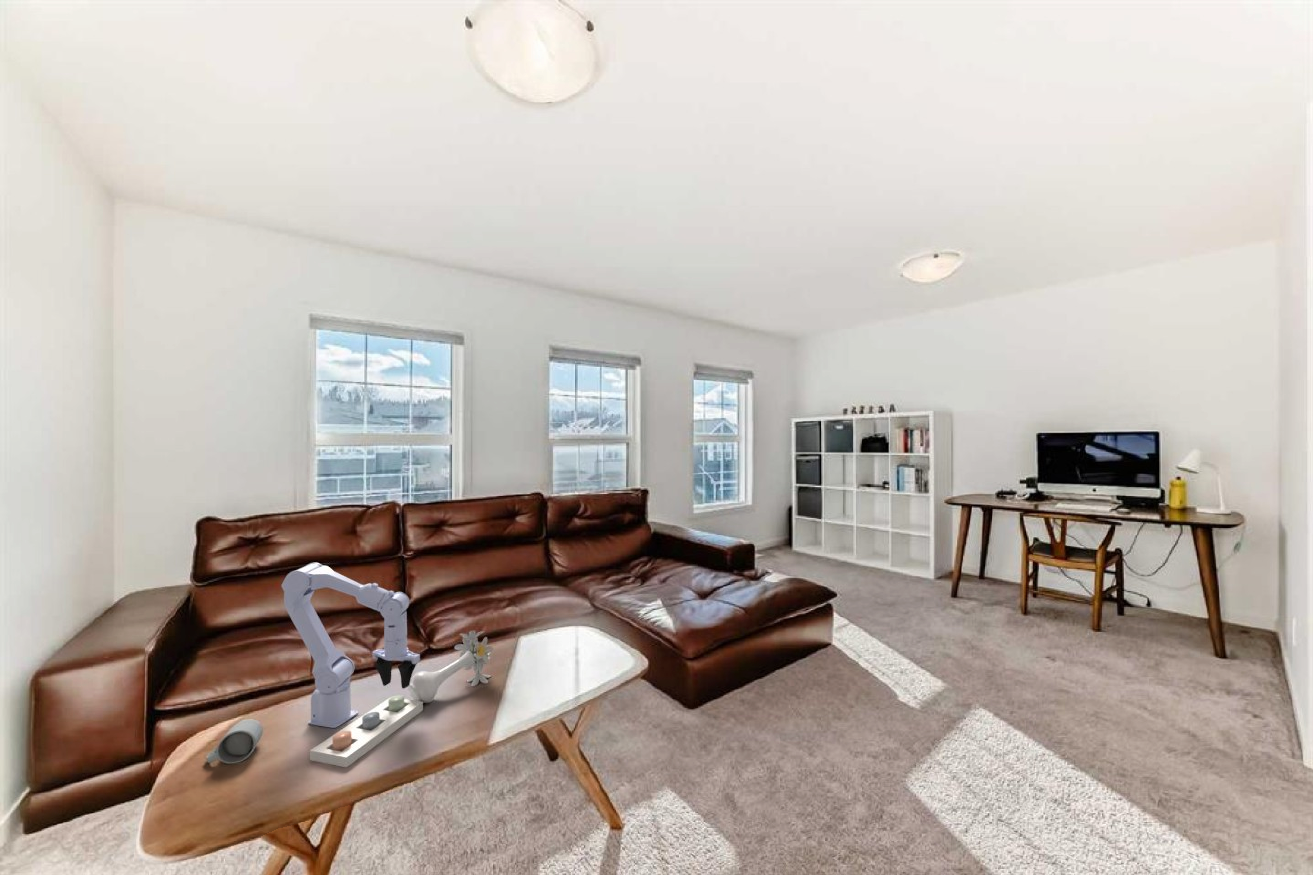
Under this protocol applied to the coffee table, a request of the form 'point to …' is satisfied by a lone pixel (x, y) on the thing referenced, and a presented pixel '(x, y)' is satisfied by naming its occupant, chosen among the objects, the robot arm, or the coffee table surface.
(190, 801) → the coffee table surface
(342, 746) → the terracotta button
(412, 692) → the flower vase
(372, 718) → the slate button
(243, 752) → the ceramic mug
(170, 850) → the coffee table surface
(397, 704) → the sage button
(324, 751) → the panel
